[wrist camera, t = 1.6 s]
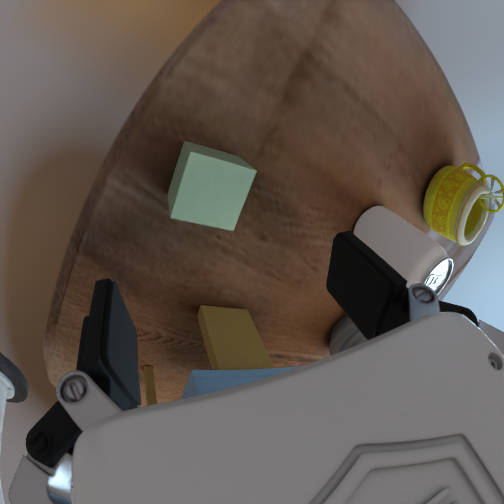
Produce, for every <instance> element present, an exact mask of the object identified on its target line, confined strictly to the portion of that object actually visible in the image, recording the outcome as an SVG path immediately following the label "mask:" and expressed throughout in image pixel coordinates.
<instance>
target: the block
mask: <svg viewBox="0 0 504 504" xmlns="http://www.w3.org/2000/svg"><path fill="white" fill-rule="evenodd" d="M256 172H257V171H256V170H255V169H254V168H253V167H251V166H250V165H249V164H248V163H246V162H245V161H244V160H242V159H241V158H240V157H238V156H236V155H232V154H229V153H226V152H223V151H219V150H216V149H212V148H209V147H205V146H202V145H198V144H195V143H191V142H187V141H184V143H183V146H182V149H181V152H180V155H179V158H178V161H177V164H176V168H175V171H174V174H173V178H172V181H171V184H170V188H169V191H168V203H169V211H170V218H172V219H177V220H182V221H187V222H192V223H197V224H202V225H207V226H212V227H217V228H221V229H226V230H231V231H234V228H235V225H236V223H237V220H238V218H239V215H240V212H241V210H242V207H243V205H244V202H245V200H246V197H247V194H248V192H249V189H250V187H251V184H252V182H253V179H254V177H255V174H256Z"/></svg>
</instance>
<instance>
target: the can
mask: <svg viewBox="0 0 504 504" xmlns="http://www.w3.org/2000/svg"><path fill="white" fill-rule="evenodd" d="M353 234H354V235H355V236H357V237H358V238H359V239H360V240H361V241H363V242H364V243H365V244H366V245H367V246H369V247H370V248H371V249H372V250H373V251H374V252H376V253H377V254H378V255H379V256H380V257H381V258H382V259H384V260H385V261H386V262H387V263H388V264H389V265H390V266H391V267H392V268H394V269H395V270H396V271H397V272H398V273H399V274H400V275H401V276H402V277H403V278H405V279H406V280H407V281H408V282H407V284H406V287H407V288H409V287H410V285H412V284H415V283H422V284H425V285H427V286H429V287H431V288H432V289H433V290H434V291H435V292H436V294H437V295H438V294H439V293H440V291H441V290H442V289H443V288H444V286H445V285H446V283H447V281H448V280H449V278H450V275H451V273H452V270H453V260H452V259H451V258H449V257H448V255H447V253H446V251H445V249H444V248H443V247H442V246H440V245H439V244H438V243H436V242H435V241H434V240H432V239H431V238H430V237H428V236H427V235H426V234H424V233H423V232H421V231H420V230H419V229H417V228H416V227H414V226H413V225H411V224H410V223H408V222H407V221H405V220H404V219H402V218H401V217H399V216H398V215H396V214H395V213H393V212H392V211H390V210H388V209H387V208H385V207H383V206H375V207H372V208H369V209H368V210H366V211H365V212H364V213H363V214H362V215H361V216H360V217H359V219H358V220H357V222H356V224H355V227H354V231H353Z"/></svg>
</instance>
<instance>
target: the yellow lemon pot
mask: <svg viewBox="0 0 504 504" xmlns="http://www.w3.org/2000/svg"><path fill="white" fill-rule="evenodd" d="M466 168H470V169H473V170H475V171H477V172H478V173H479V174H480V175H481V177H482V178H480V179H479V181H478V180H477V179H476V178H475V177H473V176H472V175H471V174H469V173H468V172H466V171H465V169H466ZM486 177H491V189H492V188H493V185H494V180H497V182H498V183H499V184H500V186H501V188H502V189H501V190H499V191H496V192H494V193H503V196H501V197H499V196H492V194H494V193H492V192H491V190H489V189H488V187H487V185H486ZM489 191H490V192H489ZM490 195H491V196H492V197H490ZM491 199H494V201H495V203H496V204H497V206H498V209H497V210H491V209H490V203H491ZM496 199H503V202H502V204H500V203H499V202H498V201H497V200H496ZM503 206H504V186H503V184H502V182H501V181H500V180H499V179H498V178H497V177H495V176H493V175H485V173H484V172H483V171H482V170H481V169H480V168H478V167H477V166H476V165H473V164H470V163H464V164H463V165H462V166H461V167H460V168H459V167H456V166H445V167H443V168H442V169H440V170H439V171H438V172H437V173H436V174H435V175H434V177H433V178H432V180H431V181H430V183H429V186H428V188H427V191H426V193H425V199H424V206H423V212H424V218H425V221H426V223H427V224H428V226H429V227H430V228H431V229H432V230H433V231H435V232H437V233H439V234H441V235H442V236H444V237H446V238H448V239H450V240H452V241H456V242H457V243H458V244H459V245H460V246H464V245H468V244H470V243H471V242H473V241H474V240H475V239H476V237H477V236H478V235H479V233H480V232H481V230H482V228H483V226H484V224H485V222H486V219H487V217H488V213H489V212H491V213H494V212H498V211H499V210H501V209H502V207H503Z"/></svg>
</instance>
